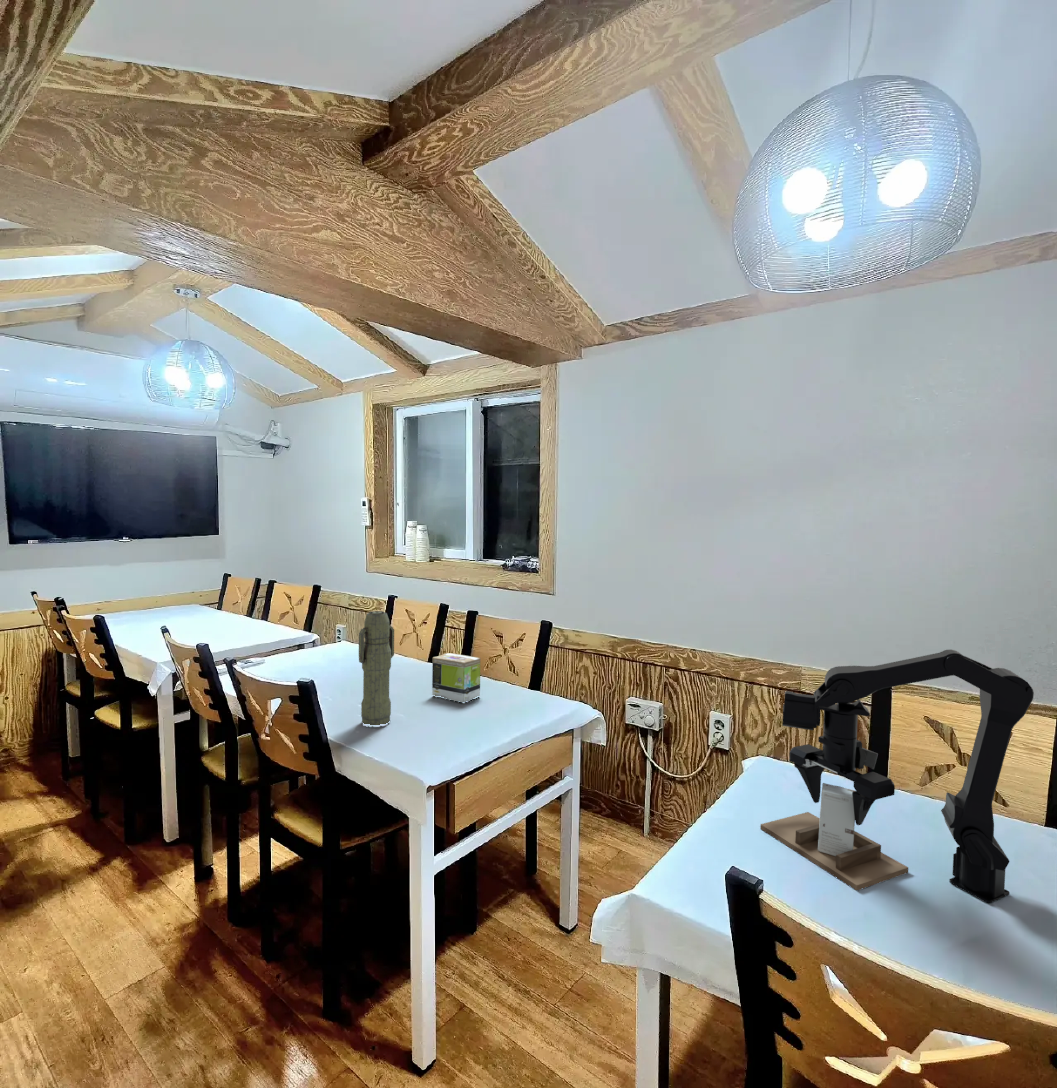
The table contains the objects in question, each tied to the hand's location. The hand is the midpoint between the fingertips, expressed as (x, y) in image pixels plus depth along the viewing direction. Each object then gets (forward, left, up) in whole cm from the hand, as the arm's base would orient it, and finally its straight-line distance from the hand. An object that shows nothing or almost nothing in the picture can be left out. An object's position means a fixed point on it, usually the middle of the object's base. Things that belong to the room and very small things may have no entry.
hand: (836, 813), depth 111 cm
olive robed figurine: (+106, +71, -9) cm, 128 cm away
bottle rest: (+2, -1, -8) cm, 9 cm away
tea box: (+123, +40, -9) cm, 130 cm away
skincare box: (0, 0, -8) cm, 8 cm away
